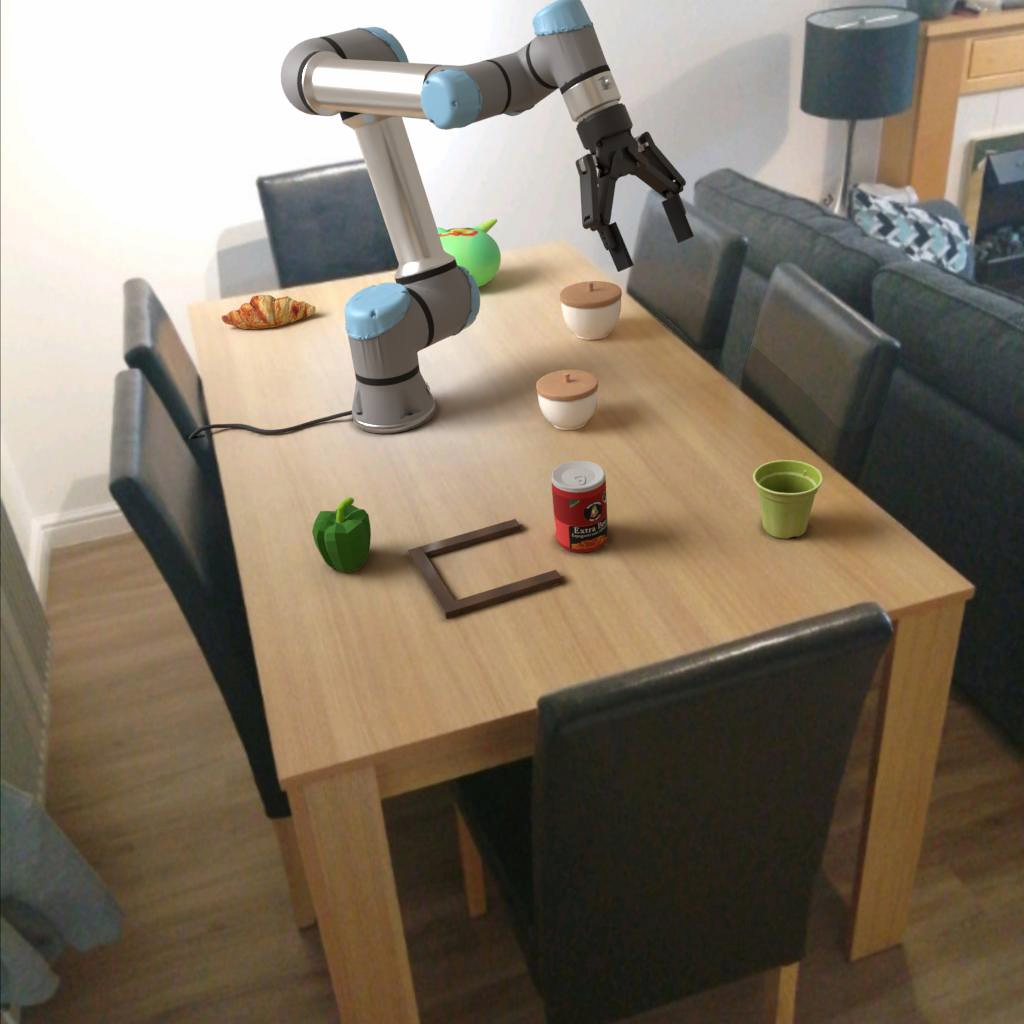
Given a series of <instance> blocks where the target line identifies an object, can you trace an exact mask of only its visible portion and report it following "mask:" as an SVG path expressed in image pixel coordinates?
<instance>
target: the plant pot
mask: <svg viewBox="0 0 1024 1024" xmlns="http://www.w3.org/2000/svg"><path fill="white" fill-rule="evenodd" d="M752 479H753V480H752V481H753V483H754V485H755V486H756V490H757V492H758V497H759V505H760V512H761V520H762V527H763V529H764V530H765V532H766V533H767V534H768V535H769V536H772V537H773V538H777V539H786V540H787V539H790V538H794V537H797V538H799V537H800V536H803V535H804V534H805V533H806V531H807V529H808V525H809V521H810V516H811V512H812V508H813V505H814V501H815V497H816V495H817V493H818V492H819V488H821V486H822V484H823V481H824V477H823V474H822V472H821V471H820V470H819V469H818V468H817V467H815V466H814V465H812V464H810V463H808V462H804V461H800V460H793V459H778V460H777V459H776V460H772V461H768V462H765V463H763V464H761V465H759V466H758V467H756V469H755V470H754V471H753V474H752Z"/></svg>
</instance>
